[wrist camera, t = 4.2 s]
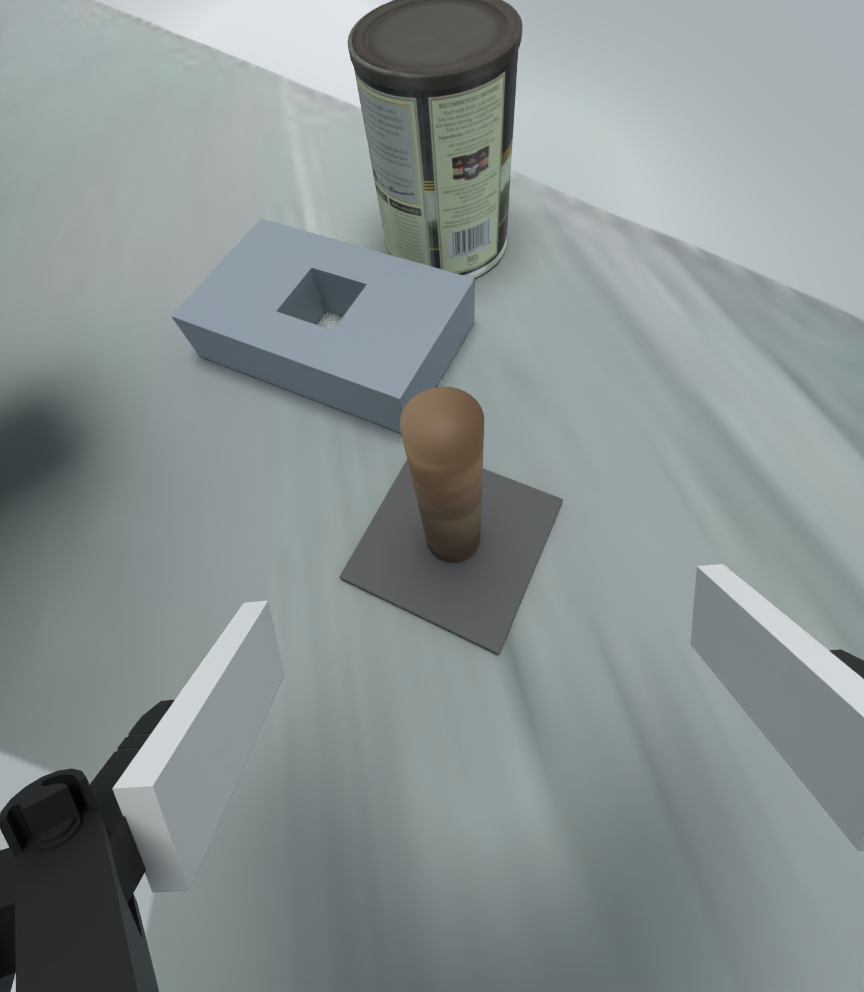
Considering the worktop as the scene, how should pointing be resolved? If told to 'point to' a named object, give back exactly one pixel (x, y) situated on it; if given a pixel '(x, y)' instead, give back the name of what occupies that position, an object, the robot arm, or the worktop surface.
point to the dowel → (446, 468)
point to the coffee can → (440, 126)
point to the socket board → (357, 337)
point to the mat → (456, 586)
